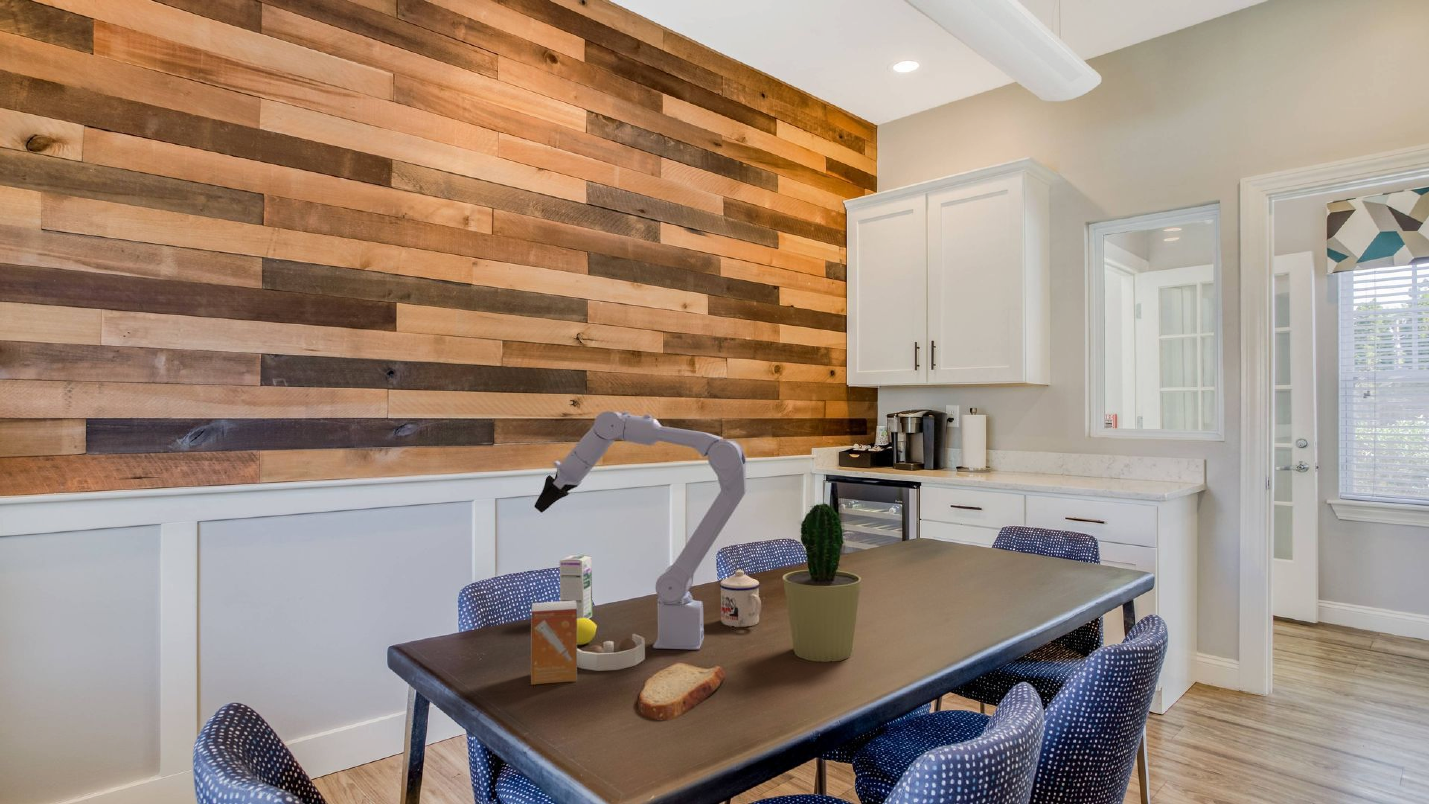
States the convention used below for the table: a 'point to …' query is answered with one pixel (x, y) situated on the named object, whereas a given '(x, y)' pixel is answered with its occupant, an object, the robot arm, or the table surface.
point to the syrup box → (577, 583)
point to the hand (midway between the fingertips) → (542, 505)
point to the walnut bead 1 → (596, 649)
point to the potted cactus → (822, 592)
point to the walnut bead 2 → (626, 644)
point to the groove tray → (612, 656)
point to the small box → (554, 642)
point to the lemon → (585, 630)
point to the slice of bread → (678, 690)
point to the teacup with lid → (740, 600)
